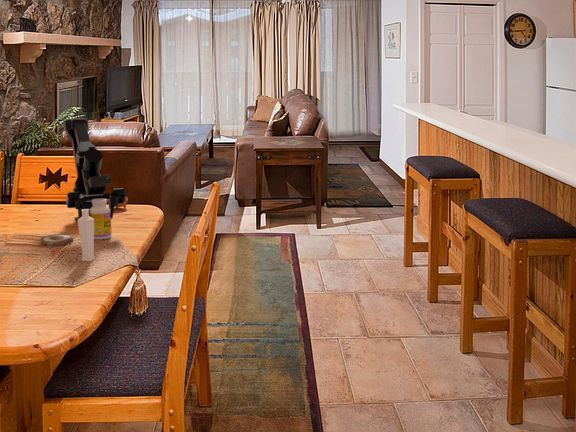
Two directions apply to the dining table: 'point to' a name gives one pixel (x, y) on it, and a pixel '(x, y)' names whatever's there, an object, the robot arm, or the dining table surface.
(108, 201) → the pot
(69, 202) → the robot arm
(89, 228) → the perfume bottle
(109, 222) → the supplement bottle
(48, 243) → the post base
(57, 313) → the dining table surface
